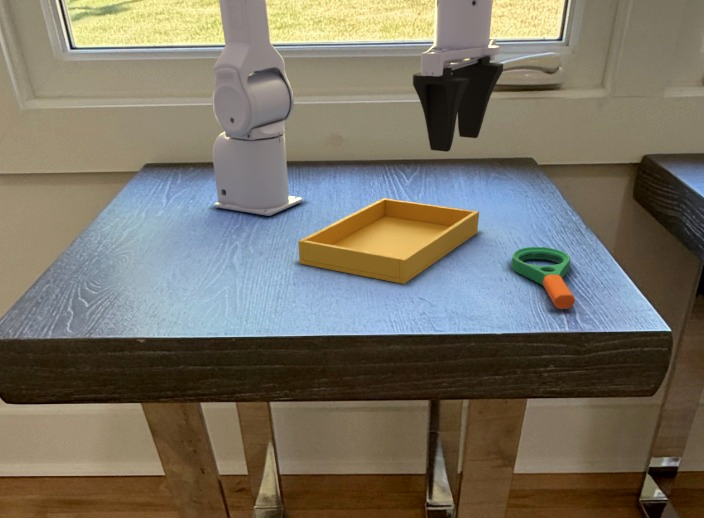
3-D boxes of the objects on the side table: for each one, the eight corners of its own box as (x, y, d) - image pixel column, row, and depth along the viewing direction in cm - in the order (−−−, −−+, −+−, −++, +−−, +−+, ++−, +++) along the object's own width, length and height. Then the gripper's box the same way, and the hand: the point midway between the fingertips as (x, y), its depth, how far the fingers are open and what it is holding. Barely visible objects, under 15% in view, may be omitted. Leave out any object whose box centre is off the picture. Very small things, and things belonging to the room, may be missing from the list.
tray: (299, 263, 79) (298, 240, 77) (383, 218, 91) (383, 197, 90) (404, 284, 73) (404, 260, 72) (477, 232, 86) (479, 211, 84)
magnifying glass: (507, 258, 79) (508, 242, 78) (561, 257, 79) (564, 241, 77) (531, 312, 67) (533, 295, 66) (595, 312, 67) (598, 294, 66)
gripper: (472, -3, 64) (461, 160, 73) (528, -11, 74) (512, 134, 82) (403, -3, 67) (400, 153, 75) (466, -11, 77) (456, 129, 85)
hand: (454, 143), depth 79 cm, fingers open, 7 cm apart
